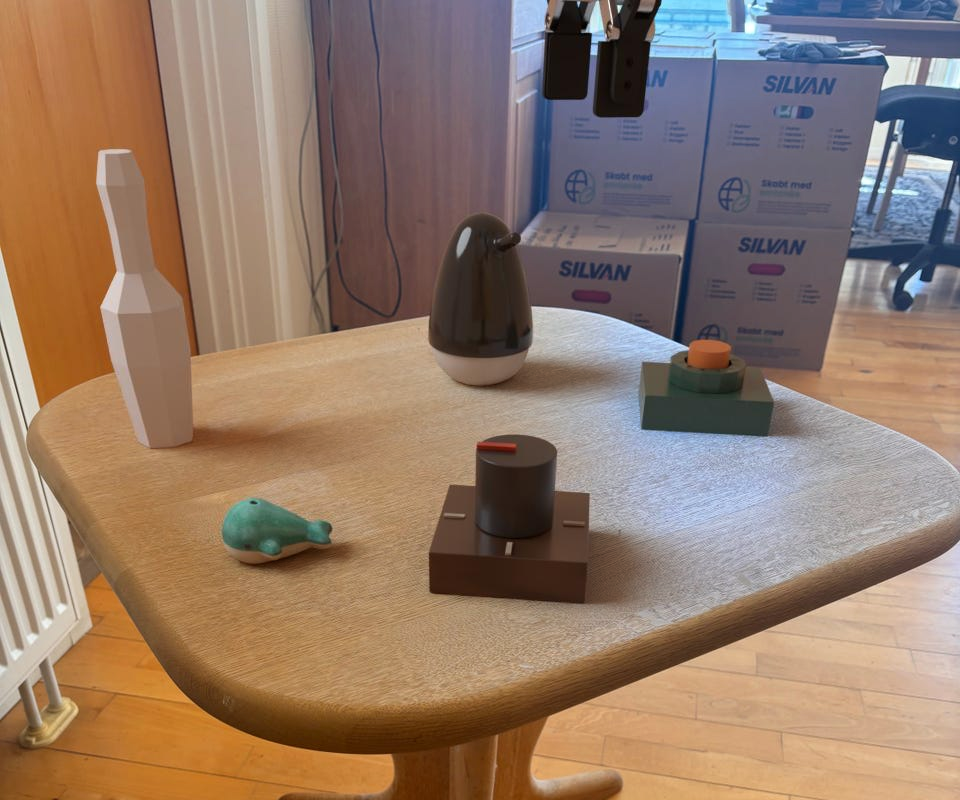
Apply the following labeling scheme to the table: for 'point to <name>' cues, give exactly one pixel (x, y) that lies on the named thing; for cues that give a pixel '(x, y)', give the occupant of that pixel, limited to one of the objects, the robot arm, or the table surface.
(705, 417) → the green button base
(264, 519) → the whale figurine
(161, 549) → the table surface
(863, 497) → the table surface
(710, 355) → the orange push button
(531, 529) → the dial
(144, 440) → the low poly bottle
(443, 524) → the dial panel
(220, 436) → the table surface
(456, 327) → the pump dispenser
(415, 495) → the table surface
